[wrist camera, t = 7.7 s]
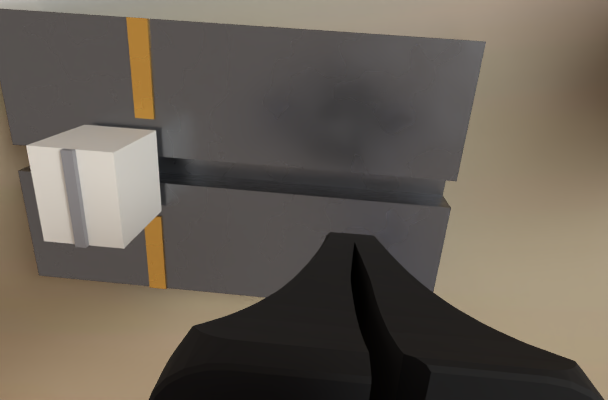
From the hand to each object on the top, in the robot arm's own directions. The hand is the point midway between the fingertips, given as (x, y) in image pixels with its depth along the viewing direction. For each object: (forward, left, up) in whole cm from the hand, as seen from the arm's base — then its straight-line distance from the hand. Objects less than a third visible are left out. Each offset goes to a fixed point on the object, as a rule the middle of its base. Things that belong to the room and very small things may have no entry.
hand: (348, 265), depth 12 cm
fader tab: (0, +9, -8) cm, 12 cm away
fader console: (0, +5, -9) cm, 11 cm away
